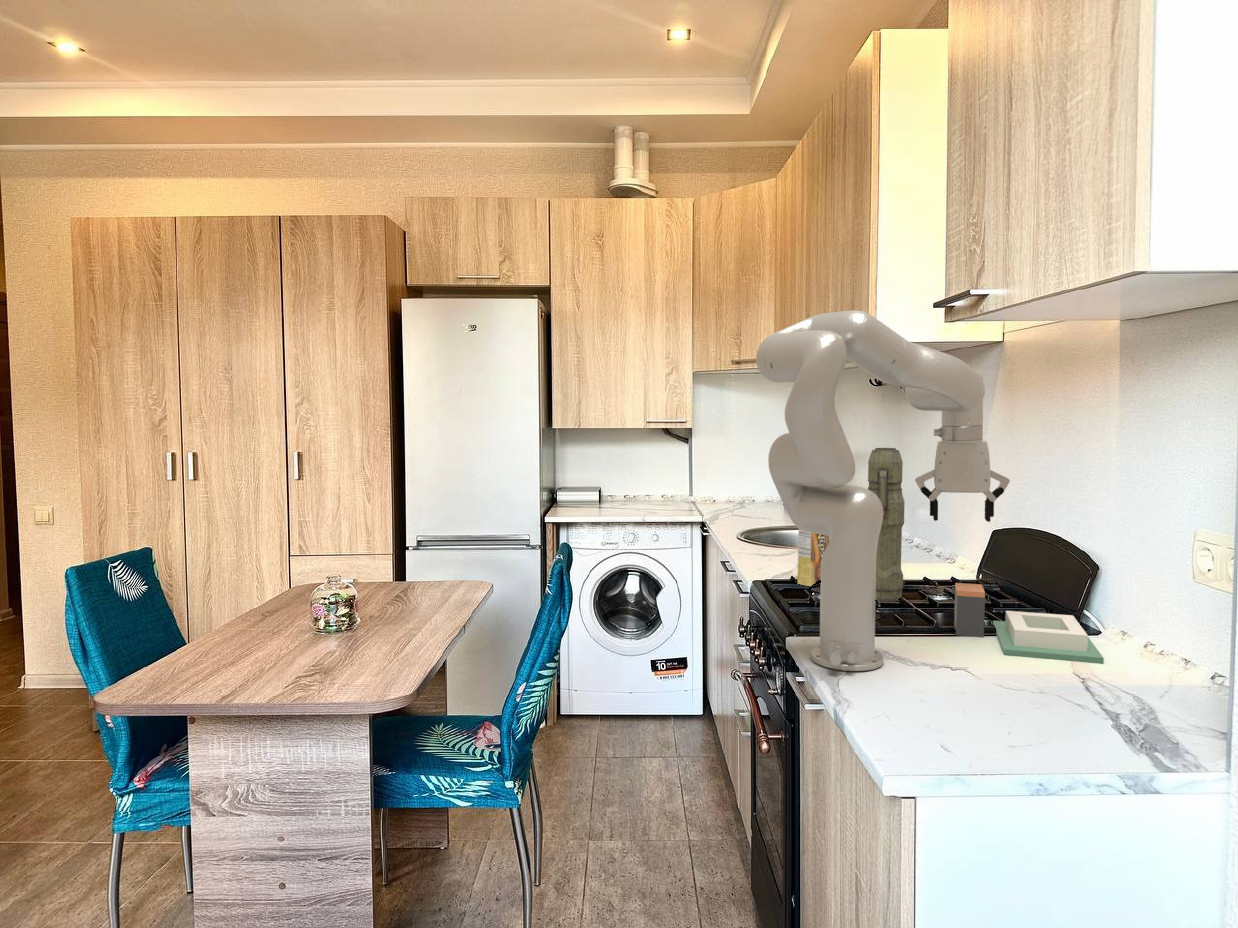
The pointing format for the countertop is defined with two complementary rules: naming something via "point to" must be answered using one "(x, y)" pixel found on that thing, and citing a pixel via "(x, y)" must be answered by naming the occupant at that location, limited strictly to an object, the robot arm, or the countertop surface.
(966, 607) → the plug
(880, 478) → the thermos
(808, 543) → the candy box
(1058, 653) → the board
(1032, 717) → the countertop surface
